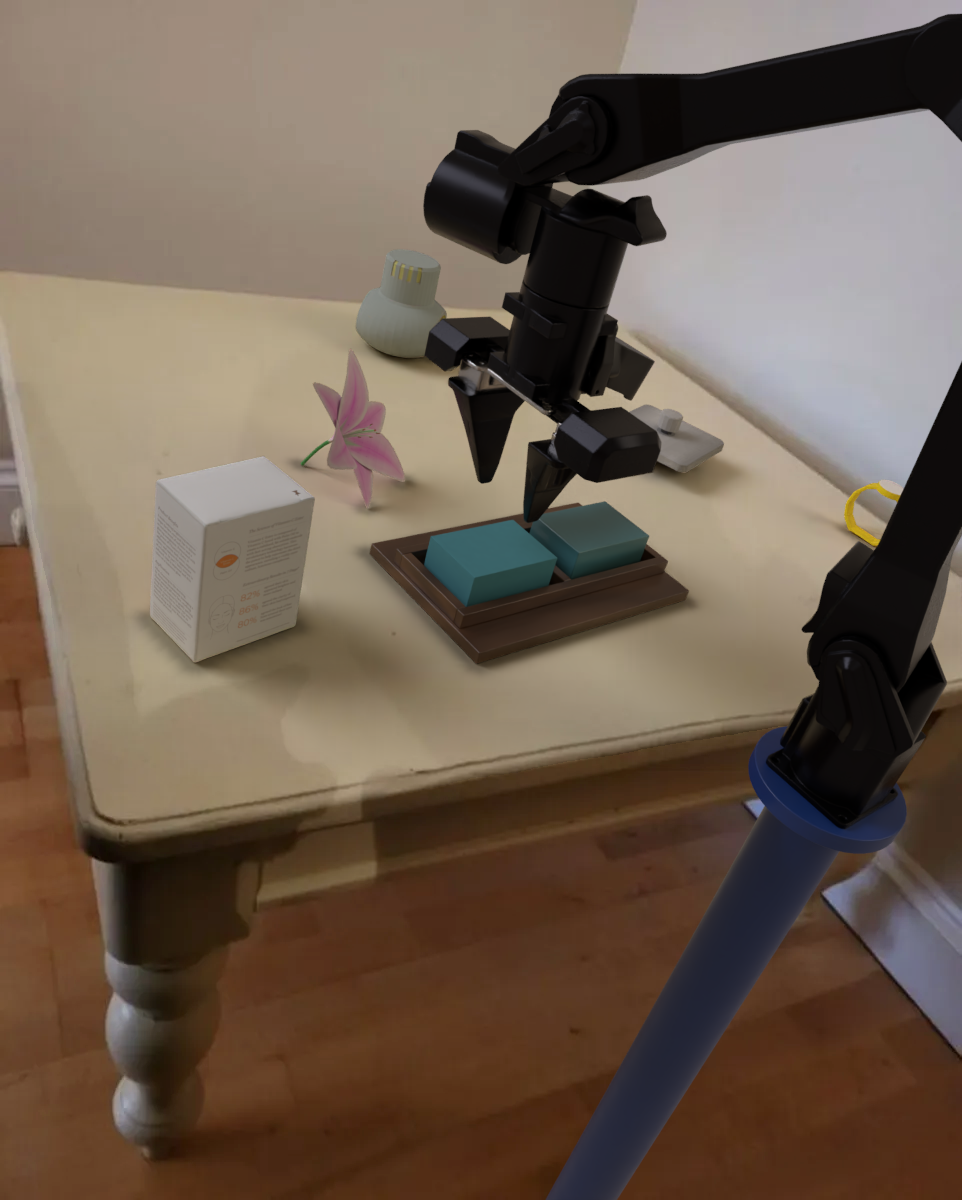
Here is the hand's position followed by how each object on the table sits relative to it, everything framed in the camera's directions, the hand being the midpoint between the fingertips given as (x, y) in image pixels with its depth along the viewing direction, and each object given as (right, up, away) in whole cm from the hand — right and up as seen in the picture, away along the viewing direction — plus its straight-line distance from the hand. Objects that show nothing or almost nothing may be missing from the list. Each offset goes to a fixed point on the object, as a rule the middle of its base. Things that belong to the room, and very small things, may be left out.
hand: (507, 501), depth 73 cm
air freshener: (-11, +21, +40) cm, 46 cm away
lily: (-13, +3, +13) cm, 19 cm away
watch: (+36, -1, +28) cm, 45 cm away
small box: (-19, -9, -6) cm, 22 cm away
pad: (-2, -6, +4) cm, 7 cm away
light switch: (+16, +7, +32) cm, 36 cm away
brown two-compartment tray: (+2, -5, +7) cm, 9 cm away
